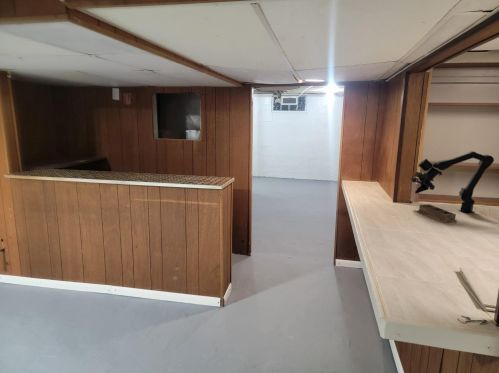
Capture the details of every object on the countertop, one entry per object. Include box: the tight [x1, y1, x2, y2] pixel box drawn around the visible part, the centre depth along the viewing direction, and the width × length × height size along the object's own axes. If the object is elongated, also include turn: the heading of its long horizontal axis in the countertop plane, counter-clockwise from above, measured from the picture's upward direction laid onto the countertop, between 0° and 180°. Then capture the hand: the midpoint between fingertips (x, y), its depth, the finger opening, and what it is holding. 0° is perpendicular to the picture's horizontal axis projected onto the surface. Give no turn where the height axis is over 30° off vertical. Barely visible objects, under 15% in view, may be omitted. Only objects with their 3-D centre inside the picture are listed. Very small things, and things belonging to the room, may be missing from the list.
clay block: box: [410, 181, 421, 203], centre depth 218 cm, size 3×4×13 cm, turn 7°
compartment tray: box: [417, 203, 457, 224], centre depth 201 cm, size 9×24×5 cm, turn 7°
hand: (413, 192), depth 217 cm, fingers closed on clay block, 4 cm apart
